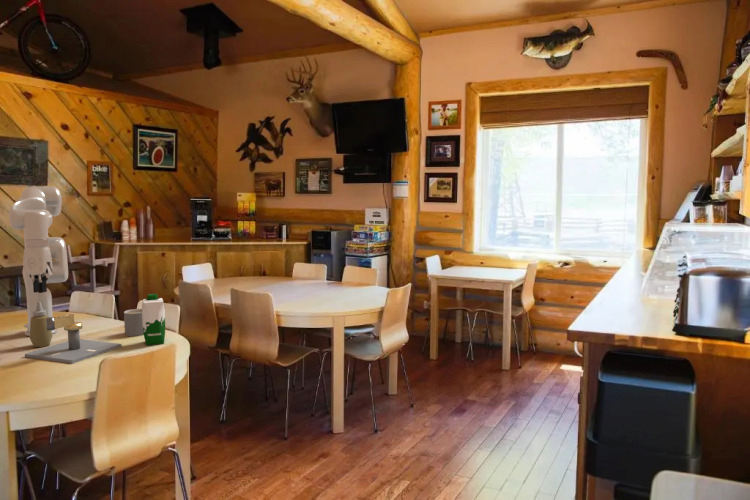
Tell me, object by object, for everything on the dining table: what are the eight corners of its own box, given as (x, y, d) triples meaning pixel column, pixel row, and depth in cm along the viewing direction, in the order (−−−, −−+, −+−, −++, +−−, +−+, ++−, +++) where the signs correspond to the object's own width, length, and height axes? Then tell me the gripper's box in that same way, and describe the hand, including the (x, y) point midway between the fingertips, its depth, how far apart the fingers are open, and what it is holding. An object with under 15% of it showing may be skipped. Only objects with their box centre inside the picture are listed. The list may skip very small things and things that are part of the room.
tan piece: (41, 334, 219) (40, 318, 218) (73, 326, 233) (73, 310, 232) (54, 336, 217) (53, 319, 216) (86, 327, 230) (85, 311, 230)
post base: (24, 356, 222) (23, 333, 221) (76, 341, 245) (75, 320, 244) (72, 363, 214) (71, 339, 213) (121, 346, 236) (120, 325, 236)
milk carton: (165, 338, 249) (163, 292, 247) (166, 344, 241) (164, 296, 238) (143, 341, 245) (140, 294, 243) (143, 346, 237) (141, 298, 235)
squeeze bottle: (57, 344, 241) (54, 301, 239) (40, 349, 233) (37, 304, 231) (42, 342, 243) (40, 299, 241) (25, 347, 236) (22, 303, 234)
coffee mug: (127, 337, 251) (126, 314, 250) (122, 332, 260) (121, 310, 259) (159, 333, 259) (158, 311, 258) (154, 328, 267) (153, 307, 266)
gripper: (12, 244, 217) (16, 292, 219) (44, 245, 212) (47, 295, 214) (30, 242, 224) (33, 289, 226) (61, 243, 219) (64, 291, 221)
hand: (40, 291), depth 220 cm, fingers closed
